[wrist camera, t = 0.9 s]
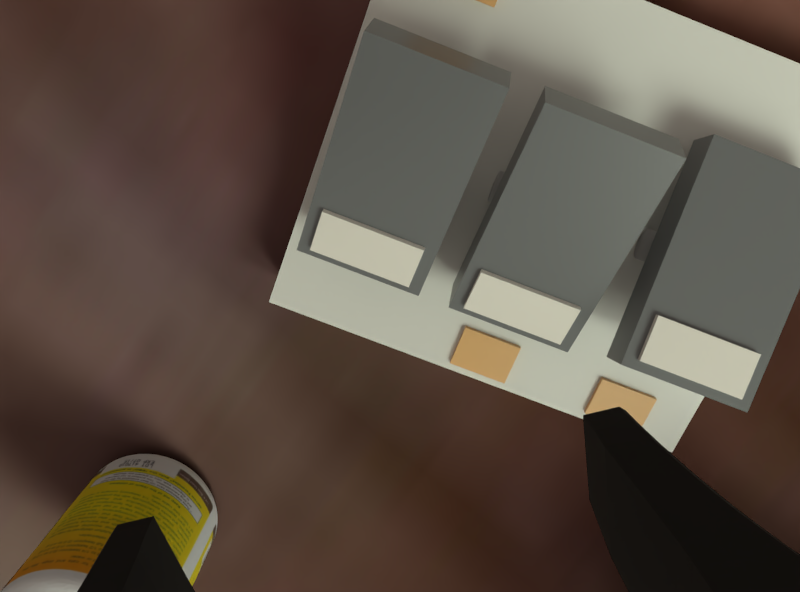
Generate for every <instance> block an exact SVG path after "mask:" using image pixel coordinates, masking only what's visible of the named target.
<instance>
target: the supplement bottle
mask: <svg viewBox="0 0 800 592" xmlns="http://www.w3.org/2000/svg"><path fill="white" fill-rule="evenodd" d="M152 516H154V518H155V519H156V521H157V523H158V525H159V527H160V529H161V530H162V532H163V534H164V536H165V538H166V540H167V541H168V543H169V545H170V547H171V549H172V551H173V552H174V554H175V556H176V558H177V560H178V562H179V563H180V565H181V567H182V569H183V571H184V573H185V574H186V576H187V578H188V580H189V582H190V584H191V585H192V586H193V584H194V582H195V580H196V577H197V575H198V573H199V571H200V568H201V566H202V564H203V562H204V560H205V558H206V556H207V553H208V551H209V549H210V547H211V545H212V542H213V540H214V537H215V534H216V530H217V522H218V516H217V508H216V504H215V501H214V498H213V496H212V494H211V492H210V490H209V488H208V487H207V485H206V484H205V483H204V481H203V480H202V479H201V478H200V477H199V476H198V475H197V474H196V473H195V472H194V471H193V470H191V469H190V468H189V467H187V466H186V465H184V464H182V463H180V462H178V461H176V460H174V459H171V458H168V457H165V456H161V455H156V454H134V455H129V456H125V457H122V458H119V459H117V460H114V461H113V462H111V463H109V464H108V465H106V466H105V467H104V468H102V469H101V470H100V471H99V472H98V473H97V474H96V475H95V476H94V478H93V479H92V480H91V481H90V482H89V483H88V485H87V486H86V487H85V488H84V489H83V491H82V492H81V493H80V495H79V496H78V497H77V498H76V499H75V501H74V502H73V503H72V504H71V506H70V507H69V508H68V509H67V510H66V512H65V513H64V514H63V515H62V517H61V518H60V519H59V520H58V522H57V523H56V524H55V525H54V527H53V528H52V529H51V530H50V532H49V533H48V534H47V535H46V536H45V538H44V539H43V540H42V542H41V543H40V544H39V545H38V547H37V548H36V549H35V550H34V551H33V553H32V554H31V555H30V557H29V558H28V559H27V560H26V562H25V563H24V564H23V565H22V566H21V567H20V569H19V570H18V571H17V572H16V574H15V575H14V576H13V577H12V578H11V580H10V581H9V582H8V583H7V584H6V586H5V587H4V588H3V589H2V591H1V592H77V591H78V589H79V588H80V586H81V584H82V583H83V581H84V579H85V578H86V576H87V574H88V573H89V571H90V569H91V567H92V566H93V564H94V562H95V561H96V559H97V557H98V555H99V554H100V552H101V550H102V549H103V547H104V545H105V544H106V542H107V540H108V539H109V537H110V535H111V534H112V532H113V531H114V529H115V527H116V526H117V525H118V524H122V523H126V522H131V521H135V520H139V519H143V518H148V517H152Z"/></svg>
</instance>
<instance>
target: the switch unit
mask: <svg viewBox="0 0 800 592" xmlns="http://www.w3.org/2000/svg"><path fill="white" fill-rule="evenodd" d="M374 18H376V19H379V20H381V21H384V22H386V23H389V24H391V25H394V26H396V27H399V28H401V29H404V30H406V31H409V32H411V33H414V34H416V35H419V36H421V37H424V38H426V39H429V40H431V41H434V42H436V43H439V44H442V45H444V46H447V47H449V48H452V49H454V50H457V51H459V52H462V53H464V54H467V55H469V56H472V57H474V58H477V59H479V60H482V61H484V62H487V63H489V64H492V65H494V66H497V67H499V68H502V69H504V70H507V71H509V72H511V79H510V88H509V90H508V93H507V95H506V97H505V99H504V102H503V104H502V106H501V109H500V111H499V113H498V115H497V118H496V120H495V122H494V125H493V127H492V129H491V131H490V134H489V136H488V138H487V141H486V143H485V145H484V147H483V150H482V152H481V154H480V157H479V159H478V161H477V164H476V166H475V168H474V170H473V173H472V175H471V177H470V180H469V182H468V184H467V186H466V189H465V191H464V193H463V196H462V198H461V200H460V202H459V205H458V207H457V209H456V212H455V214H454V216H453V218H452V221H451V223H450V225H449V228H448V230H447V232H446V234H445V237H444V239H443V241H442V244H441V246H440V248H439V250H438V253H437V255H436V257H435V260H434V262H433V264H432V266H431V269H430V271H429V273H428V276H427V278H426V280H425V282H424V285H423V287H422V289H421V292H420V294H419V296H417V295H414V294H412V293H409V292H406V291H404V290H401V289H398V288H396V287H393V286H390V285H388V284H385V283H382V282H380V281H377V280H375V279H372V278H369V277H367V276H364V275H361V274H359V273H356V272H353V271H351V270H348V269H345V268H343V267H340V266H337V265H335V264H332V263H330V262H327V261H324V260H322V259H319V258H316V257H314V256H311V255H308V254H306V253H303V252H300V251H298V250H297V247H298V244H299V241H300V237H301V234H302V231H303V228H304V224H305V221H306V218H307V215H308V211H309V208H310V205H311V202H312V198H313V195H314V192H315V189H316V185H317V182H318V179H319V176H320V172H321V169H322V166H323V163H324V159H325V156H326V153H327V150H328V146H329V143H330V140H331V137H332V133H333V130H334V127H335V124H336V120H337V117H338V114H339V111H340V107H341V104H342V101H343V98H344V94H345V91H346V88H347V85H348V81H349V78H350V75H351V72H352V68H353V65H354V62H355V59H356V55H357V52H358V49H359V46H360V42H361V39H362V36H363V32H364V30H365V29H366V27H367V26H368V25H369V24H370V22H371V21H372V20H373V19H374ZM545 86H547V87H550V88H552V89H555V90H557V91H560V92H562V93H565V94H567V95H570V96H572V97H575V98H577V99H580V100H582V101H585V102H587V103H590V104H592V105H595V106H597V107H600V108H602V109H605V110H607V111H610V112H612V113H615V114H617V115H620V116H622V117H625V118H628V119H630V120H633V121H635V122H638V123H640V124H643V125H645V126H648V127H650V128H653V129H655V130H658V131H660V132H663V133H665V134H668V135H670V136H673V137H675V138H678V139H679V141H680V143H681V146H682V148H683V151H684V153H685V156H686V158H687V156H688V153H689V151H690V148H691V146H692V144H693V141H694V140H696V139H699V138H703V137H706V136H709V135H713V134H716V135H718V136H721V137H723V138H726V139H728V140H731V141H733V142H736V143H738V144H741V145H743V146H746V147H748V148H751V149H753V150H756V151H758V152H761V153H763V154H766V155H768V156H771V157H773V158H776V159H778V160H781V161H783V162H786V163H788V164H791V165H793V166H796V167H798V168H800V64H799V63H797V62H794V61H792V60H790V59H787V58H785V57H782V56H780V55H777V54H775V53H772V52H770V51H768V50H765V49H763V48H760V47H758V46H755V45H753V44H750V43H748V42H745V41H743V40H741V39H738V38H736V37H733V36H731V35H728V34H726V33H723V32H721V31H718V30H716V29H714V28H711V27H709V26H706V25H704V24H701V23H699V22H696V21H694V20H691V19H689V18H687V17H684V16H682V15H679V14H677V13H674V12H672V11H669V10H667V9H664V8H662V7H660V6H657V5H655V4H652V3H650V2H647V1H645V0H370V3H369V6H368V9H367V12H366V15H365V18H364V21H363V24H362V27H361V30H360V33H359V36H358V39H357V42H356V45H355V48H354V51H353V54H352V57H351V59H350V62H349V65H348V68H347V71H346V74H345V77H344V80H343V83H342V86H341V89H340V92H339V95H338V98H337V101H336V104H335V107H334V110H333V113H332V116H331V119H330V122H329V125H328V128H327V131H326V134H325V137H324V140H323V143H322V146H321V149H320V152H319V155H318V158H317V161H316V164H315V167H314V169H313V172H312V175H311V178H310V181H309V184H308V187H307V190H306V193H305V196H304V199H303V202H302V205H301V208H300V211H299V214H298V217H297V220H296V223H295V226H294V229H293V232H292V235H291V238H290V241H289V244H288V247H287V250H286V253H285V256H284V259H283V262H282V265H281V268H280V271H279V274H278V277H277V280H276V282H275V285H274V288H273V291H272V294H271V297H270V300H269V302H270V303H273V304H276V305H278V306H281V307H284V308H286V309H289V310H292V311H295V312H297V313H300V314H303V315H305V316H308V317H311V318H313V319H316V320H319V321H321V322H324V323H327V324H329V325H332V326H335V327H337V328H340V329H343V330H345V331H348V332H351V333H353V334H356V335H359V336H362V337H364V338H367V339H370V340H372V341H375V342H378V343H380V344H383V345H386V346H388V347H391V348H394V349H396V350H399V351H402V352H404V353H407V354H410V355H412V356H415V357H418V358H420V359H423V360H426V361H429V362H431V363H434V364H437V365H439V366H442V367H445V368H447V369H450V370H453V371H455V372H458V373H461V374H463V375H466V376H469V377H471V378H474V379H477V380H479V381H482V382H485V383H487V384H490V385H493V386H496V387H498V388H501V389H504V390H506V391H509V392H512V393H514V394H517V395H520V396H522V397H525V398H528V399H530V400H533V401H536V402H538V403H541V404H544V405H546V406H549V407H552V408H554V409H557V410H560V411H563V412H565V413H568V414H571V415H573V416H576V417H579V418H581V419H583V415H586V414H590V413H594V412H598V411H603V410H607V409H611V408H615V407H621V408H622V409H624V410H626V411H627V412H628V413H629V414H630V415H631V416H632V417H633V418H634V419H635V420H636V421H637V422H638V423H639V424H640V425H641V426H642V427H643V428H644V429H645V430H646V431H647V432H648V433H649V434H650V435H652V436H653V437H654V438H655V439H656V440H657V441H658V442H659V443H660V444H661V445H662V446H663V447H664V448H666V449H667V450H668V451H670V452H673V450H674V449H675V447H676V445H677V443H678V442H679V440H680V438H681V436H682V435H683V433H684V431H685V429H686V428H687V426H688V424H689V422H690V421H691V419H692V417H693V415H694V414H695V412H696V410H697V408H698V407H699V405H700V403H701V402H702V400H703V398H704V396H702V395H700V394H697V393H694V392H692V391H689V390H687V389H684V388H681V387H679V386H676V385H673V384H671V383H668V382H665V381H663V380H660V379H657V378H655V377H652V376H650V375H647V374H644V373H642V372H639V371H636V370H634V369H631V368H628V367H626V366H623V365H621V364H619V363H617V362H615V361H613V360H611V359H610V358H608V357H607V354H608V352H609V349H610V347H611V344H612V342H613V339H614V337H615V334H616V332H617V329H618V327H619V324H620V322H621V319H622V317H623V314H624V312H625V309H626V307H627V305H628V302H629V300H630V297H631V295H632V292H633V290H634V287H635V285H636V282H637V280H638V277H639V275H640V272H641V270H642V267H643V265H644V262H645V260H646V257H647V255H648V253H649V250H650V248H651V245H652V243H653V240H654V238H655V235H656V233H657V230H658V228H659V225H660V223H661V220H662V218H663V215H664V213H665V210H666V208H667V205H668V203H669V200H670V198H671V196H672V193H673V191H674V188H675V186H676V183H677V181H678V178H679V176H680V173H681V171H682V168H683V166H684V164H683V165H682V167H681V168H680V170H679V172H678V173H677V175H676V177H675V178H674V180H673V182H672V183H671V185H670V186H669V188H668V190H667V191H666V193H665V195H664V196H663V198H662V199H661V201H660V203H659V204H658V206H657V208H656V209H655V211H654V213H653V214H652V216H651V217H650V219H649V221H648V222H647V224H646V226H645V227H644V229H643V230H642V232H641V234H640V235H639V237H638V239H637V240H636V242H635V244H634V245H633V247H632V248H631V250H630V252H629V253H628V255H627V257H626V258H625V260H624V261H623V263H622V265H621V266H620V268H619V270H618V271H617V273H616V274H615V276H614V278H613V279H612V281H611V283H610V284H609V286H608V288H607V289H606V291H605V292H604V294H603V296H602V297H601V299H600V301H599V302H598V304H597V305H596V307H595V309H594V310H593V312H592V314H591V315H590V317H589V319H588V320H587V322H586V323H585V325H584V327H583V328H582V330H581V332H580V333H579V335H578V336H577V338H576V340H575V341H574V343H573V345H572V346H571V348H570V350H569V351H568V352H565V351H562V350H560V349H557V348H555V347H552V346H549V345H547V344H544V343H541V342H539V341H536V340H533V339H531V338H528V337H525V336H523V335H520V334H517V333H515V332H512V331H510V330H507V329H504V328H502V327H499V326H496V325H494V324H491V323H488V322H486V321H483V320H480V319H478V318H475V317H472V316H470V315H467V314H465V313H462V312H459V311H457V310H454V309H451V308H449V303H450V297H451V292H452V286H453V283H454V281H455V278H456V276H457V274H458V272H459V270H460V268H461V265H462V263H463V261H464V259H465V257H466V255H467V253H468V250H469V248H470V246H471V244H472V242H473V240H474V238H475V235H476V233H477V231H478V229H479V227H480V225H481V222H482V220H483V218H484V216H485V214H486V212H487V210H488V207H489V205H490V203H491V201H492V199H493V197H494V194H495V192H496V190H497V188H498V186H499V184H500V182H501V179H502V177H503V175H504V173H505V171H506V169H507V167H508V164H509V162H510V160H511V158H512V156H513V154H514V151H515V149H516V147H517V145H518V143H519V141H520V139H521V136H522V134H523V132H524V130H525V128H526V126H527V124H528V121H529V119H530V117H531V115H532V113H533V111H534V108H535V106H536V104H537V102H538V100H539V98H540V96H541V93H542V91H543V89H544V87H545ZM685 161H686V160H685ZM684 163H685V162H684Z"/></svg>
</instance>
